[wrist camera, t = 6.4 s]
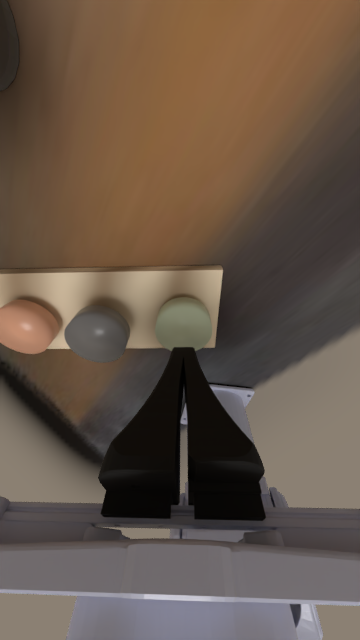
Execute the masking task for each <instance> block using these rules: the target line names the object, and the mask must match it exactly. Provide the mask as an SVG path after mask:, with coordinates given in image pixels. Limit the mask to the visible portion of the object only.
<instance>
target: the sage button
mask: <svg viewBox="0 0 360 640" xmlns="http://www.w3.org/2000/svg"><path fill="white" fill-rule="evenodd" d="M155 334H156V338H157V340H158V341H159V342H160V344H161V345H162V346H164V347H165V348H167V349H169V350H171V351H172V349H173V348H174V347H193V348H195V351H197V350H199V349H201V348H203V347H204V346H205V345H206V344H207V343H208V342H209V340H210V339H211V336H212V325H211V319H210V314H209V311H208V310H207V308H206V307H205V306H204V305H203V304H202V303H201V302H199V301H198V300H195V299H192V298H187V297H180V298H175V299H172V300H170V301H168V302H166V303H165V304H164V305H163V306H162V307H161V309H160V310H159V312H158V316H157V321H156V326H155Z"/></svg>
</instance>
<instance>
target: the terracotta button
mask: <svg viewBox="0 0 360 640" xmlns="http://www.w3.org/2000/svg"><path fill="white" fill-rule="evenodd" d="M58 333H59V325H58V323H57V321H56V319H55V317H54V316H53V315H52V314H51V313H50V312H49V311H48V310H46V309H45V308H44V307H42V306H40V305H38V304H36V303H34V302H31V301H27V300H13V301H10V302H8V303H7V304H5V305H4V306H3V307H1V308H0V342H1V343H2V344H4V345H5V346H7V347H9V348H11V349H13V350H15V351H18V352H22V353H27V354H36V353H40V352H43V351H44V350H46V348H47V347H48V346H49V345H50V344H51V342H52V341H53V340H54V339H55V338H56V336H57V335H58Z"/></svg>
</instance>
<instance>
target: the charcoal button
mask: <svg viewBox="0 0 360 640" xmlns="http://www.w3.org/2000/svg"><path fill="white" fill-rule="evenodd" d="M64 337H65V340H66V343H67V344H68V346H69V347H70V348H71V349H72V351H74V352H75V353H76V354H78V355H79V356H81V357H83V358H85V359H87V360H90V361H94V362H111V361H114V360H117V359H118V358H120V357H121V356H122V355H123V353H124V351H125V349H126V346H127V343H128V340H129V337H130V327H129V324H128V322H127V321H126V319H125V318H124V317H123V316H122V315H121V314H120V313H118V312H117V311H115V310H113V309H111V308H108V307H105V306H100V305H91V306H87V307H84V308H82V309H81V310H80V311H79V312H78V313H77V314H76V315H75V316H74V318H73V319H72V320H71V321H70V323H69V324H68V325H67V327H66V328H65V332H64Z"/></svg>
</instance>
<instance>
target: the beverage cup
mask: <svg viewBox="0 0 360 640" xmlns="http://www.w3.org/2000/svg"><path fill="white" fill-rule="evenodd" d="M18 65H19V40H18V36H17V31H16V27H15V22H14V18H13V14H12V12H11V9H10V7H9V5H8V2H7V0H0V91H2V90H4V89H7V87H8V86H9V85H10V84H11V83H12V81H13V80H14V79H15V76H16V72H17V68H18Z"/></svg>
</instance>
